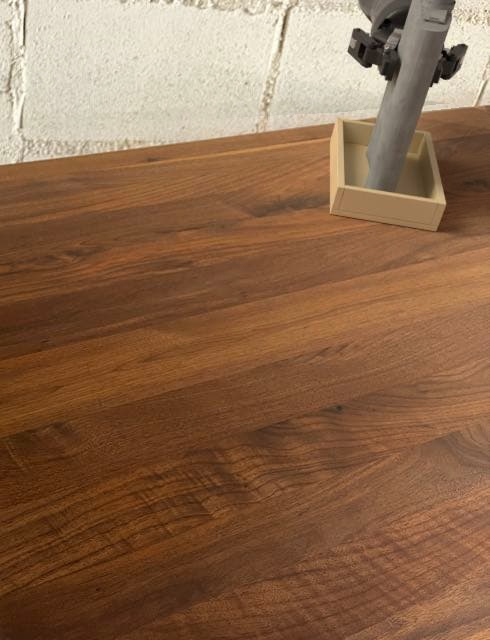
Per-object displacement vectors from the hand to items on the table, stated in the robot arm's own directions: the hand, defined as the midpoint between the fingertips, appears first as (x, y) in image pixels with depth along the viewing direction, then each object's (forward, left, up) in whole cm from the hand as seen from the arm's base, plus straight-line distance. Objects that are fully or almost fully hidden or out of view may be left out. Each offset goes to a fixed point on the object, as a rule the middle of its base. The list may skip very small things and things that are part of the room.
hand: (411, 74), depth 97 cm
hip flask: (0, +1, -11) cm, 11 cm away
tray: (0, +1, -12) cm, 12 cm away
